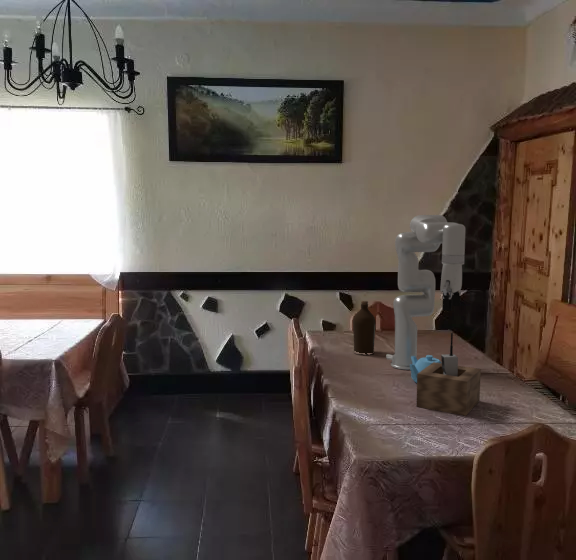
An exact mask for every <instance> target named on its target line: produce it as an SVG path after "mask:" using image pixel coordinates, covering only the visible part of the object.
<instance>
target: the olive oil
mask: <svg viewBox="0 0 576 560" xmlns="http://www.w3.org/2000/svg"><path fill="white" fill-rule="evenodd" d="M360 302H361V303H360V309H359V311H358V312H357V313H355V315H354V316H353V318H352V319H353V320H352V329H353V352H354V351H356V352H359V353H365V354H367V353H373V352H374V353H375V338H376V337H375V336H376V324H377V323H376V322H377V321H376V317H375V315H374V314H373V313H372V312H371V311H370V310H369V304H368V303H369V301H368V300H361V301H360ZM374 353H373V354H374Z"/></svg>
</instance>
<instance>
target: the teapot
mask: <svg viewBox="0 0 576 560" xmlns="http://www.w3.org/2000/svg"><path fill="white" fill-rule="evenodd" d="M411 359H412V364H410V373H411V374H410V377H411V379H412V381H413V382H414V383H416V384H417V374H418V373H419V372H421V371H422V370H423V369H425V368H426V367H428V366H429V365H430V364H432V363H433V362H435V363H442V360H441V359H438V358H436V357H434V356H433V355H432V354H431V355H430V354H427V355H425V357H420V358H419V359H417V358H416V356H411Z"/></svg>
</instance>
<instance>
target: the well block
mask: <svg viewBox="0 0 576 560" xmlns="http://www.w3.org/2000/svg"><path fill="white" fill-rule="evenodd" d="M481 373H482V369H481V368H476V367H470V366H462V365H458V375H457V376H450V375H444V374H443V369H442V362H441V363H435V362H433V363H432V364H430V365H429V366H428V367H426V368H425V369H423V370H422V371H421V372H419V373H418V374H417V383H416V406H417V408H423V409H428V410H433V411H438V412H442V413H449V414H455V415H460V416H464V417H466V416H467V415H468V414H469V413H471V411H472V410H473V409H474V408H475V407H476V405H478V403H479V402H480V397H481V377H482V376H481V375H482V374H481Z"/></svg>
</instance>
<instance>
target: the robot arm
mask: <svg viewBox="0 0 576 560" xmlns="http://www.w3.org/2000/svg"><path fill="white" fill-rule="evenodd" d="M409 229H410V231H406V232H401V233H399V234H397V235H396V237H395V240H394V248H395V252H396V255H397V260H398V263H397V265H398V266H397V288H398V290H399V291H400V292H403V293H422V294H402V295H397V296H396V297H395V298H394V299H393V303H392V305H393V312H394V353H393V354H389V353H387V354H386V356H385V358H386V360H387V361H388V360H391V363H390V366H391V367H392V368H395V369H397V370H398V369H399V370H404V371H405V370H408V371H409V370H410V364H412V359H411V356H416V358H417V357H418V355H417V354H418V353H417V352H418V351H417V349H418V325H417V323H416V322H415V320H414V319H413V318H414V317H416V318H417V317H429V316H431V315H433V314H434V311H435V304H436V301H435V299H436V298H435V297H436V277H435V274H434V272H432V271H431V270H429V269H419V265H420V264H419V261H420V260H419V257H418V256H417V254H416V253H434V252H436V251H437V250H438V249H439V248H440V246H442V247H441V264H442V269H441V275H440V277H441V278H440V279H441V280H440V292H441V293H442V307H441V308H442V310H443V311H447V312H448V311H450V312H451V311H453V307H461V299H462V298H461V293H462V292H461V289H462V286H463V265H465V254H466V253H465V252H466V251H465V249H466V226H465V225H464V224H462V223H458V222H453V221H452V222H448V220H447V219H446V217H445V216H444V215H442V214H418V215H415V216H414V217H412V219H411V220H410V223H409ZM441 244H442V245H441ZM410 371H411V370H410Z"/></svg>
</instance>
